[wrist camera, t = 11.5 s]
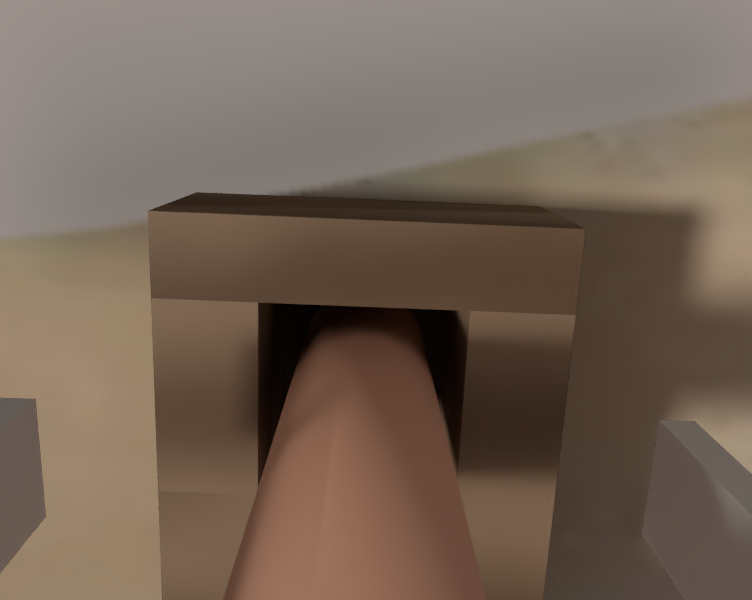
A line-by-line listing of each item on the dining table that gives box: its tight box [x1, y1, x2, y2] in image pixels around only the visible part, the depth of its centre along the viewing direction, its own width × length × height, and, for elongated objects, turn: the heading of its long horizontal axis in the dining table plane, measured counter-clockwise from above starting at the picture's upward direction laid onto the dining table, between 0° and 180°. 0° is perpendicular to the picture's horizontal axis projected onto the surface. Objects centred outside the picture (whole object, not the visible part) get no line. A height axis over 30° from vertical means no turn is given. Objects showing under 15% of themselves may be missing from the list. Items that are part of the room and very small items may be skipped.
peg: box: [223, 305, 486, 600], centre depth 16 cm, size 4×4×16 cm
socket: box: [148, 192, 586, 600], centre depth 22 cm, size 16×11×5 cm
